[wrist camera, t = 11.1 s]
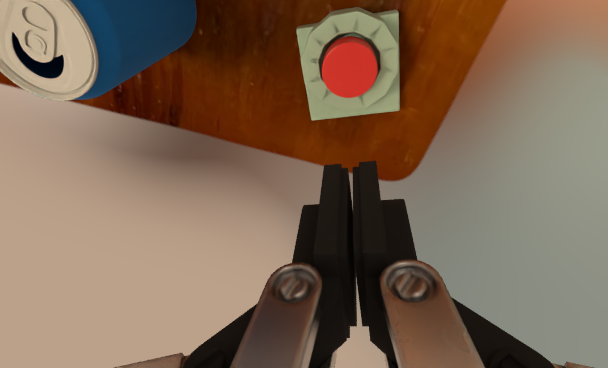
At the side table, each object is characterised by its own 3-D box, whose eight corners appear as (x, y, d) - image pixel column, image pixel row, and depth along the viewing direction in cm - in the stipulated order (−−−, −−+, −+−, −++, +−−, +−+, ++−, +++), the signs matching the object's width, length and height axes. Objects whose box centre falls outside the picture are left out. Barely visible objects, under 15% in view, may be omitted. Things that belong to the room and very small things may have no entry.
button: (319, 40, 22) (318, 46, 21) (374, 32, 22) (376, 38, 20) (326, 92, 24) (325, 101, 23) (377, 86, 24) (378, 94, 22)
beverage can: (108, 23, 26) (-36, 71, 16) (119, -72, 22) (-59, -84, 12) (188, 63, 27) (98, 130, 17) (211, -21, 23) (113, 3, 14)
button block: (296, 14, 24) (290, 22, 22) (396, -3, 23) (402, 3, 20) (312, 114, 28) (309, 130, 26) (397, 104, 27) (402, 120, 25)
